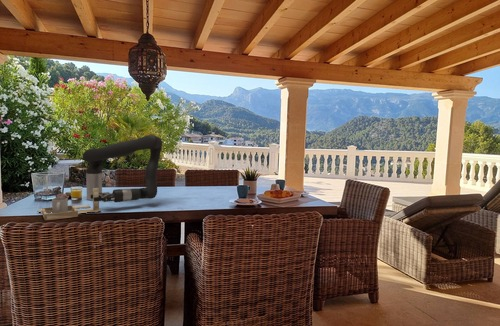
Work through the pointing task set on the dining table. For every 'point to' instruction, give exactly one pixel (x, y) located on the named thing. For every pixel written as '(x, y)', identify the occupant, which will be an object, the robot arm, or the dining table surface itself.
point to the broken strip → (75, 207)
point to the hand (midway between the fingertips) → (92, 198)
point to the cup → (59, 205)
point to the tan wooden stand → (71, 209)
